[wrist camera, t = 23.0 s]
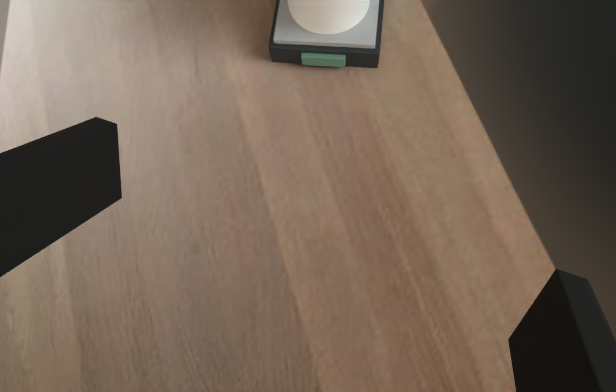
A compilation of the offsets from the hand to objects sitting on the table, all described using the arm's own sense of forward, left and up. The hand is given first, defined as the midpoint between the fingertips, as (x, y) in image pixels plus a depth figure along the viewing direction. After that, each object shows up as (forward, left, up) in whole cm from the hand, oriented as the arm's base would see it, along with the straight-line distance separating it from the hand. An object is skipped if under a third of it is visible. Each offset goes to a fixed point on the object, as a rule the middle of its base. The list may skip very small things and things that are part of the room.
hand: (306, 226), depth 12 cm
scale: (+3, -27, -25) cm, 37 cm away
